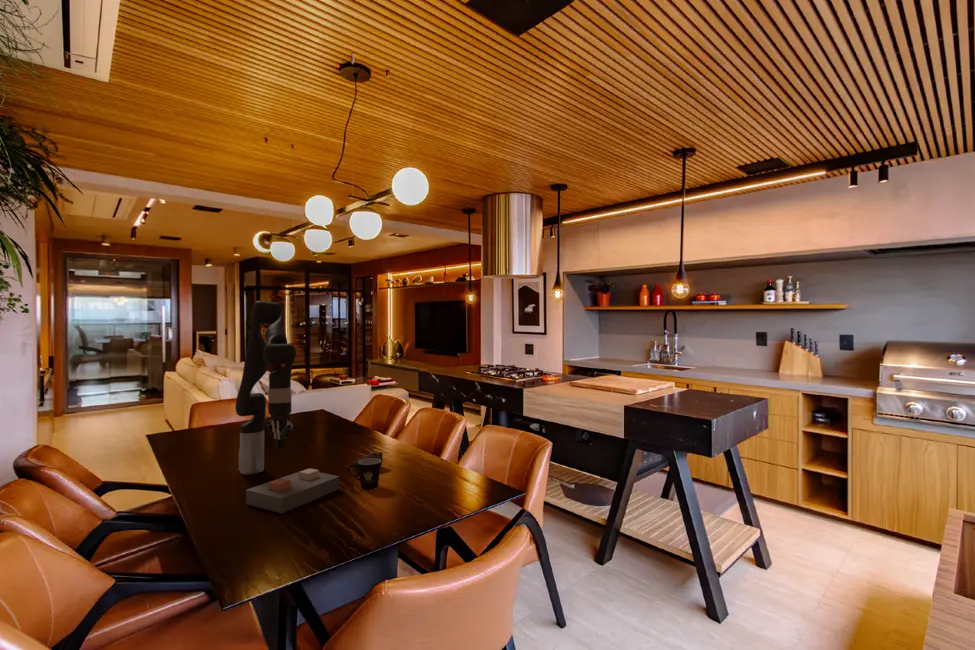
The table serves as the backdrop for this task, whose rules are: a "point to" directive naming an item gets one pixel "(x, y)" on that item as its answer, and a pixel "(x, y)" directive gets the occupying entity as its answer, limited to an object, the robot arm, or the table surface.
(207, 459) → the table surface
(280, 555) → the table surface
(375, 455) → the perforated stone tool
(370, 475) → the coffee mug
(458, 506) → the table surface
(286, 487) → the terracotta key
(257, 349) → the robot arm
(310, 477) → the offwhite key
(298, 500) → the key panel
